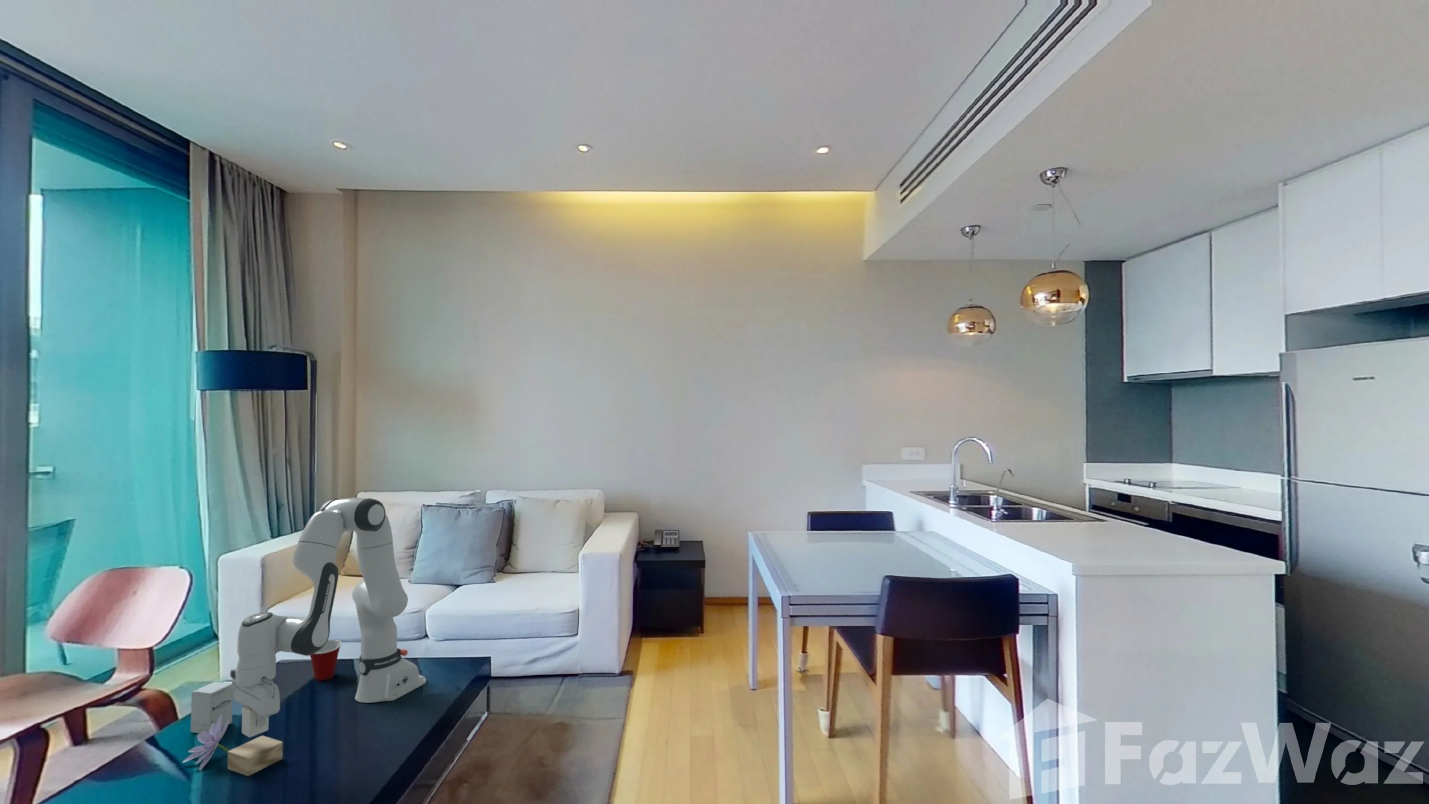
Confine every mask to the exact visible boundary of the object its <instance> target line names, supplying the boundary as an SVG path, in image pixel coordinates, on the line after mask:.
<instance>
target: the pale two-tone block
mask: <svg viewBox="0 0 1429 804" xmlns="http://www.w3.org/2000/svg"><path fill="white" fill-rule="evenodd" d="M269 717H270V716H268V717H267V718H266V724H265V725H264V726H262V727H257V726H256V720H258V715H257V712H255V711H253V710H252V708H250V707H248V706H246V705H243V707H242V708H241V733H242V734H243V735H245V736H246V737H248V738H251V737H254V736H258V735H259V734H263V733H264V732H267V731H269V724H270V722H269V719H270V718H269Z"/></svg>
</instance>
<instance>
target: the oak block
mask: <svg viewBox="0 0 1429 804" xmlns="http://www.w3.org/2000/svg"><path fill="white" fill-rule="evenodd" d="M283 744H284V743H283V741H281V740H278V739H275V738H272V737H270V736H265V735H260V736H258V737H256V738H254V739H252V740H249V741H247V742H245V743H243V744H241V745H238V746H237V747H234V748H232V749H229V750H230V751H228V752H227V770H229V771H233V772H235V773H238V774H241V775H244V776H247V777H249V776H251V775H253V774H255V773H257V772H259V771H261V770H264V769H265V768H267V767H269V766H271V765H273V764H275V763H277V762H279V761H280V760H283V749H284V746H283Z"/></svg>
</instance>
